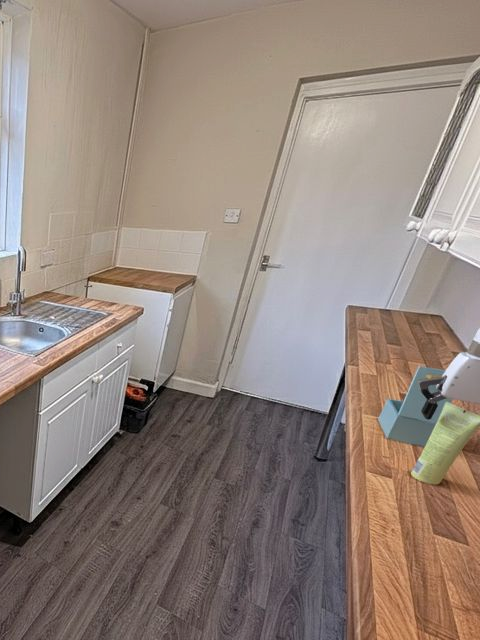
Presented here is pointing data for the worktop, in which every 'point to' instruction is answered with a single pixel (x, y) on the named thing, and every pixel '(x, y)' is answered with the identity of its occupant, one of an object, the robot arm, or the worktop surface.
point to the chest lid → (422, 396)
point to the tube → (445, 443)
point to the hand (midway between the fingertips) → (455, 423)
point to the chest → (404, 425)
